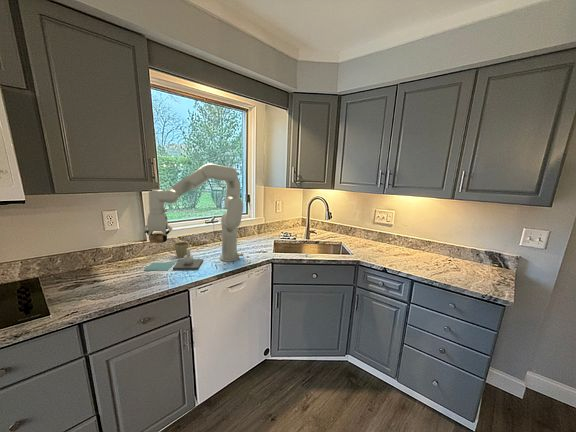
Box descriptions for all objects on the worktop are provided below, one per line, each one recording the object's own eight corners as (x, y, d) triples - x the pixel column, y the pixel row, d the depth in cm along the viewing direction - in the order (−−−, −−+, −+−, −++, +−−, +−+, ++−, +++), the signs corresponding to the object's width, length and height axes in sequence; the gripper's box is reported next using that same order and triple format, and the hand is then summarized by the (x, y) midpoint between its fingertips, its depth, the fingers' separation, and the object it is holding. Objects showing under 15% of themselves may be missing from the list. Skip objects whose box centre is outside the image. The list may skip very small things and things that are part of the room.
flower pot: (170, 257, 160) (170, 244, 158) (181, 253, 168) (180, 241, 167) (182, 259, 157) (181, 246, 155) (192, 255, 165) (191, 242, 164)
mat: (174, 262, 150) (174, 262, 150) (167, 270, 139) (167, 269, 138) (152, 263, 148) (152, 262, 148) (143, 270, 137) (143, 270, 137)
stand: (203, 261, 155) (202, 245, 153) (198, 269, 141) (197, 252, 139) (180, 261, 153) (179, 245, 151) (172, 270, 139) (172, 252, 138)
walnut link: (166, 239, 144) (166, 233, 144) (162, 242, 138) (161, 236, 137) (154, 239, 143) (154, 233, 143) (149, 242, 137) (149, 235, 136)
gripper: (175, 210, 143) (176, 240, 146) (143, 209, 140) (145, 239, 143) (170, 212, 135) (171, 243, 138) (137, 212, 133) (139, 243, 136)
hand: (158, 241), depth 141 cm, fingers closed on walnut link, 6 cm apart
